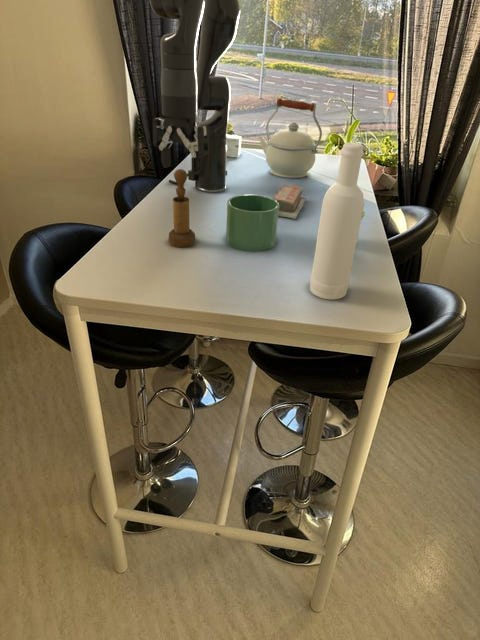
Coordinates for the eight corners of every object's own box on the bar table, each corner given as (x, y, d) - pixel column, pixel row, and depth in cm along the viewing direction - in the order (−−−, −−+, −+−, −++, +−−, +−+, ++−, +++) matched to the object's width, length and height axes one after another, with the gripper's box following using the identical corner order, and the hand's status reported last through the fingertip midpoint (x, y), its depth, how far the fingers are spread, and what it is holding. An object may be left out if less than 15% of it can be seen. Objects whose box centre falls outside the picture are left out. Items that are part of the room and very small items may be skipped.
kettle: (325, 173, 175) (335, 102, 161) (304, 184, 162) (313, 107, 148) (268, 161, 186) (273, 93, 172) (244, 171, 172) (248, 98, 159)
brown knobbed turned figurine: (174, 249, 112) (171, 174, 102) (165, 239, 116) (161, 167, 106) (199, 245, 114) (199, 172, 104) (189, 235, 119) (188, 164, 109)
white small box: (223, 156, 188) (224, 137, 184) (226, 152, 193) (227, 134, 189) (238, 157, 188) (239, 138, 184) (240, 154, 193) (241, 135, 189)
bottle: (353, 298, 96) (385, 149, 79) (318, 302, 94) (344, 150, 77) (336, 280, 102) (362, 139, 86) (303, 283, 100) (323, 139, 84)
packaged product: (277, 181, 146) (308, 186, 144) (276, 196, 149) (306, 201, 147) (263, 198, 132) (297, 203, 129) (262, 214, 134) (295, 220, 132)
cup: (216, 242, 116) (217, 203, 111) (243, 227, 126) (245, 191, 120) (259, 255, 111) (262, 216, 105) (284, 239, 120) (288, 202, 115)
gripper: (217, 94, 96) (215, 172, 105) (165, 87, 102) (167, 161, 111) (195, 98, 91) (195, 180, 100) (141, 90, 97) (146, 167, 106)
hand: (181, 170), depth 105 cm, fingers open, 8 cm apart
